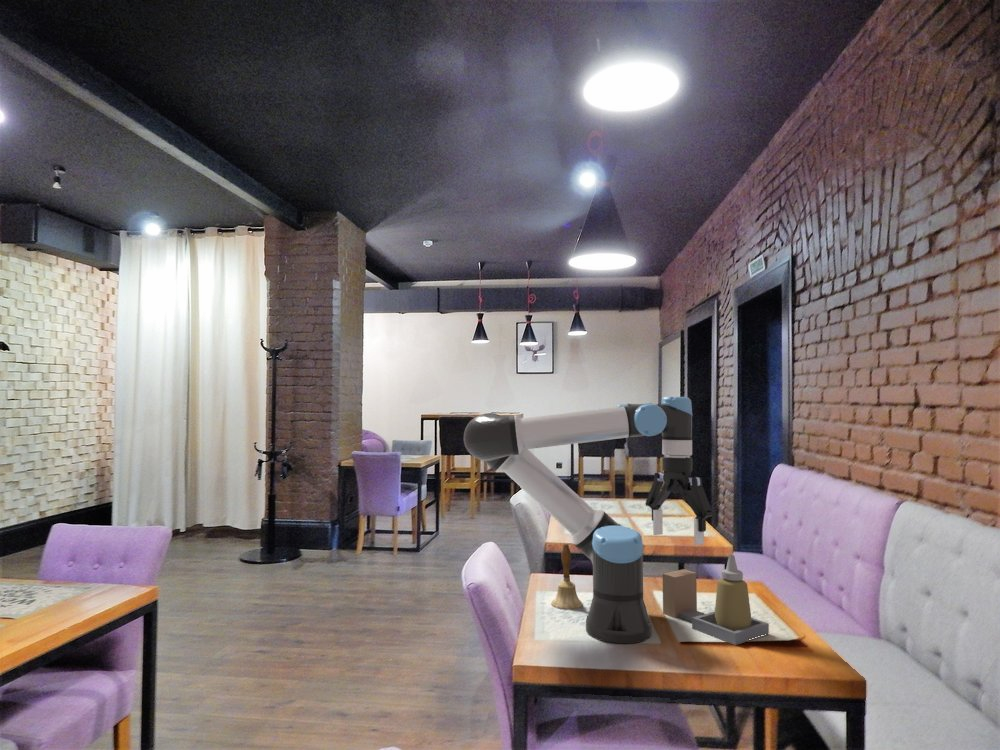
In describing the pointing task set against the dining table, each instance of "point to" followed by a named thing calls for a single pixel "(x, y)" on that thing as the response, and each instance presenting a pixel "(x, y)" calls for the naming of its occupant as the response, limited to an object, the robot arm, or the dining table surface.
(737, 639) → the grey tray with block
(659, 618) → the dining table surface
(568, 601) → the hand bell
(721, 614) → the squeeze bottle
